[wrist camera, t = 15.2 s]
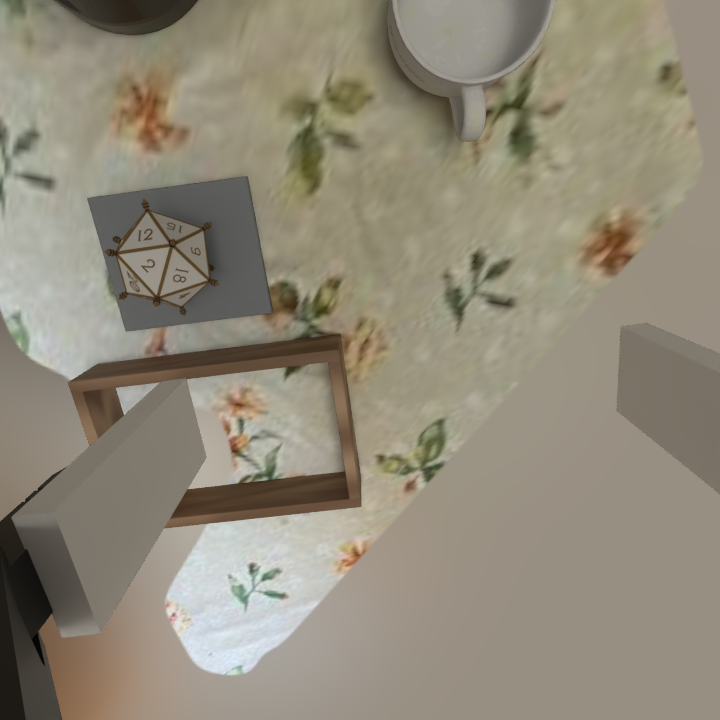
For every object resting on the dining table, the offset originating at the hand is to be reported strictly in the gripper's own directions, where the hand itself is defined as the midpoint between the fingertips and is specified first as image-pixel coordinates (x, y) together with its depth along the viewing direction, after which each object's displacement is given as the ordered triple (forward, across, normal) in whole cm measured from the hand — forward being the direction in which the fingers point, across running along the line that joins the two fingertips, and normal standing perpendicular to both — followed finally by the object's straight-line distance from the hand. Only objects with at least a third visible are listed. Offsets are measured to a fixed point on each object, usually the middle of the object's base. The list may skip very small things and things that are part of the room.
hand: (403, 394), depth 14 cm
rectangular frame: (+31, -16, -14) cm, 37 cm away
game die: (+30, -17, +3) cm, 35 cm away
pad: (+31, -17, +3) cm, 35 cm away
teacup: (+31, +8, +16) cm, 36 cm away
